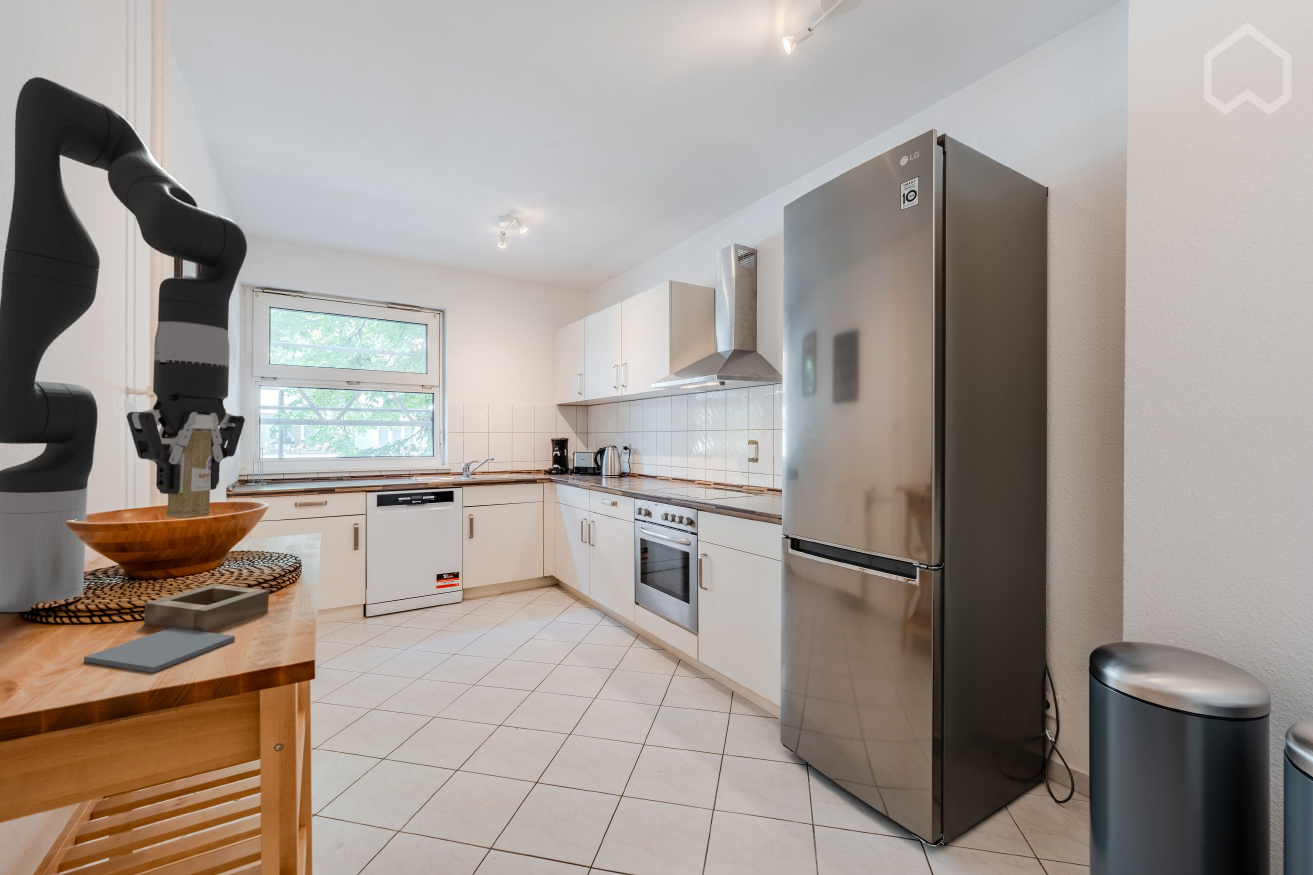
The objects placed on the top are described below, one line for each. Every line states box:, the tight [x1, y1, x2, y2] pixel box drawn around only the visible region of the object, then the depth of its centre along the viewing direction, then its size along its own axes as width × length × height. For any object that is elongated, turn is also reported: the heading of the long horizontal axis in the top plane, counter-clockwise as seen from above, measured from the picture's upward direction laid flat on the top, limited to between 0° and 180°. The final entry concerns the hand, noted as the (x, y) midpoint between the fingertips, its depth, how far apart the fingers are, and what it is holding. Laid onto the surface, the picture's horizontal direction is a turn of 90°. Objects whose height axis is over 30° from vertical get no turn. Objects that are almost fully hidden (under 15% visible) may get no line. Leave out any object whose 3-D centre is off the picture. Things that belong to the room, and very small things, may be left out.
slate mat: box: [83, 627, 236, 674], centre depth 69 cm, size 10×10×1 cm
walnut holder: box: [143, 583, 270, 632], centre depth 81 cm, size 10×10×3 cm
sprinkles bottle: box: [165, 414, 213, 519], centre depth 72 cm, size 5×5×14 cm
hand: (188, 490), depth 72 cm, fingers closed on sprinkles bottle, 4 cm apart
